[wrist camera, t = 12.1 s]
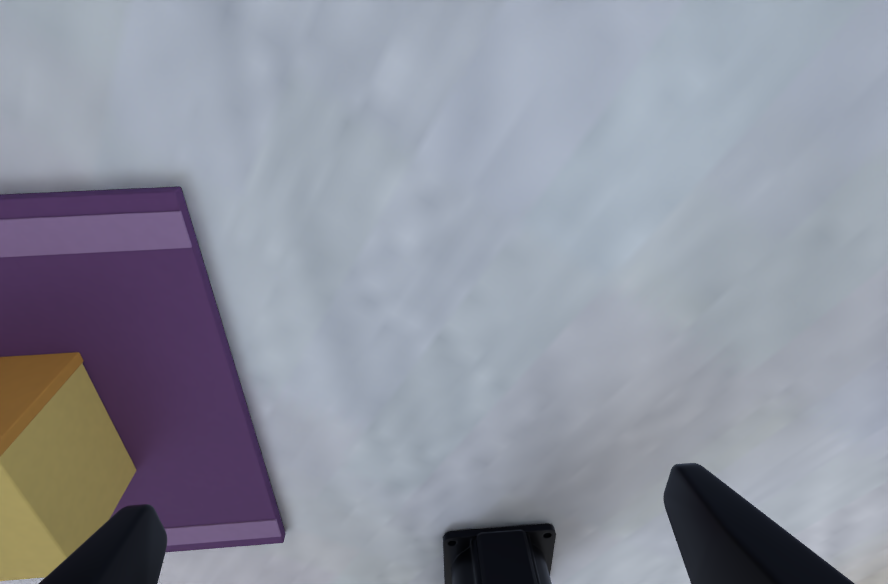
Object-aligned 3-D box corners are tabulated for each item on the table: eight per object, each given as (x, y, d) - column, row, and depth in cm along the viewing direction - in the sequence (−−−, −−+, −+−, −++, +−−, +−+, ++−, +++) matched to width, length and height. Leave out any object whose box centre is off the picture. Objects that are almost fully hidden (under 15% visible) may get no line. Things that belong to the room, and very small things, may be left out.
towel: (286, 533, 28) (283, 544, 27) (-13, 557, 27) (-22, 569, 26) (181, 186, 18) (174, 192, 17) (-304, 207, 17) (-330, 215, 16)
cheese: (139, 469, 24) (79, 576, 19) (36, 476, 23) (-48, 587, 19) (79, 351, 20) (-11, 450, 16) (-42, 358, 20) (-168, 461, 15)
